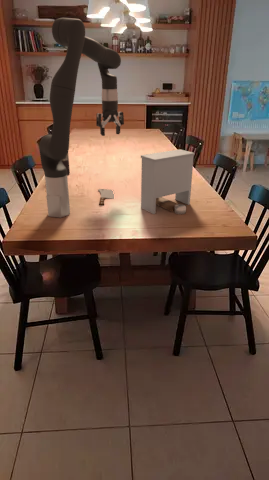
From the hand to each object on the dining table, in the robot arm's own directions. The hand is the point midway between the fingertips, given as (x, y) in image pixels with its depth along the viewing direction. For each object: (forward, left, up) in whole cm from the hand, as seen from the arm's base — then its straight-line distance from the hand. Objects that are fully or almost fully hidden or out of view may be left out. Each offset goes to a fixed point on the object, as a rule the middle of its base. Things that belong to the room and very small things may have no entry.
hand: (110, 134), depth 176 cm
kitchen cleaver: (-11, -1, -29) cm, 31 cm away
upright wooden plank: (-15, -30, -28) cm, 44 cm away
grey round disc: (-22, -39, -28) cm, 53 cm away
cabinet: (-16, -31, -28) cm, 45 cm away
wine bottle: (+22, +37, -28) cm, 52 cm away
